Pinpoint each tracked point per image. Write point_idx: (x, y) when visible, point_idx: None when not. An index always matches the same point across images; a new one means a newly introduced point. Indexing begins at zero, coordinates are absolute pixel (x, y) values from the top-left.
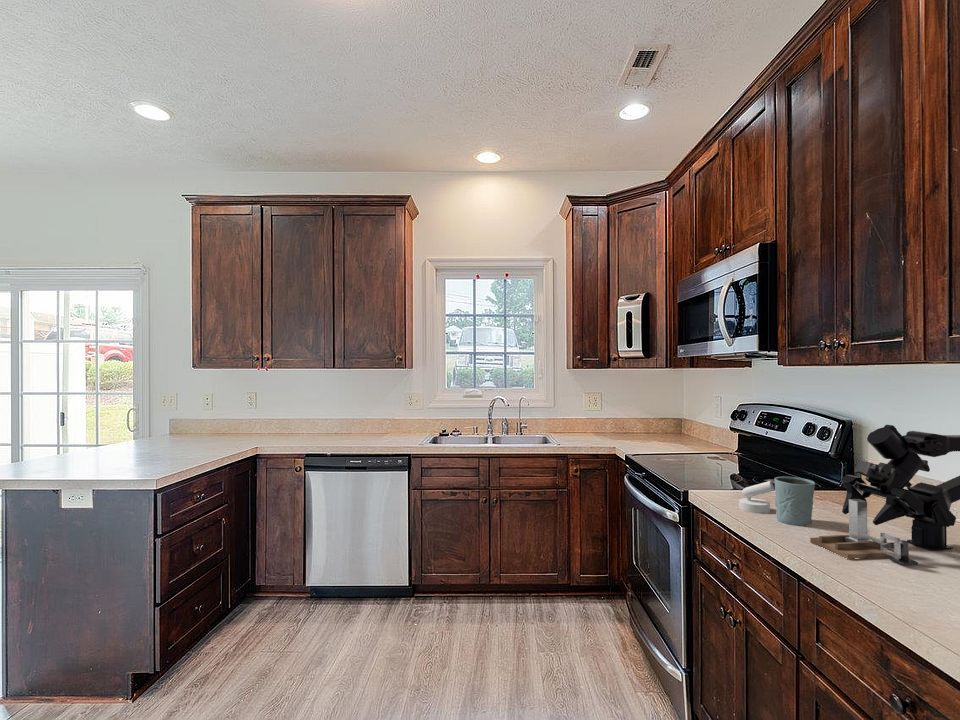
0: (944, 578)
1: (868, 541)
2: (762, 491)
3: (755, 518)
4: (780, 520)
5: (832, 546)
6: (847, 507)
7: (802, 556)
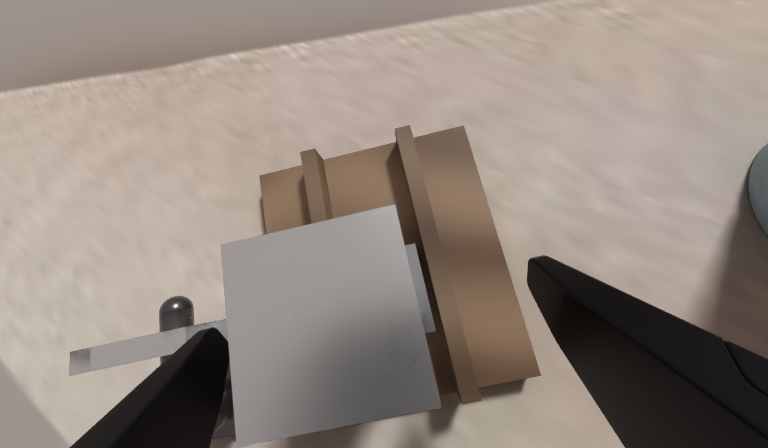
0: (84, 429)
1: None
2: None
3: None
4: None
5: (350, 163)
6: (564, 308)
7: (300, 53)
